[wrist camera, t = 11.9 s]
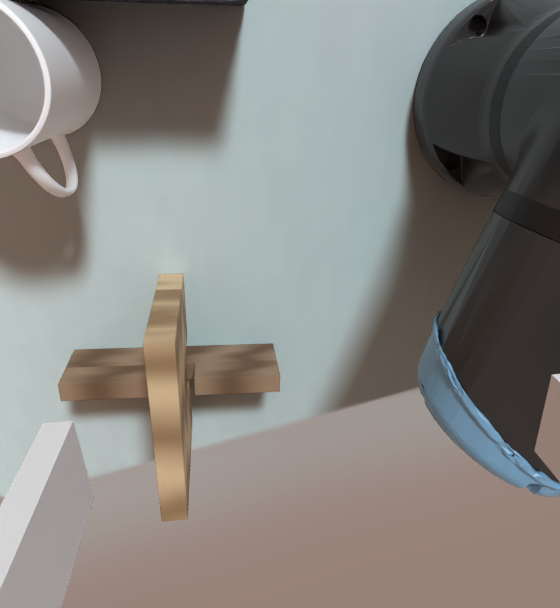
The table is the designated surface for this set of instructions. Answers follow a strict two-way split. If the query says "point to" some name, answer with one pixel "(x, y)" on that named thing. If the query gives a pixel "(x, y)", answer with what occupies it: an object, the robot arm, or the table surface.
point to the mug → (44, 87)
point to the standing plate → (199, 365)
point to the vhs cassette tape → (186, 1)
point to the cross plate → (169, 395)
